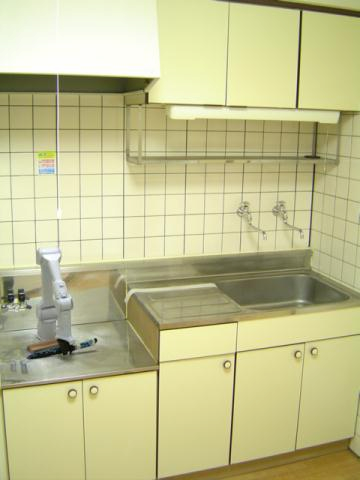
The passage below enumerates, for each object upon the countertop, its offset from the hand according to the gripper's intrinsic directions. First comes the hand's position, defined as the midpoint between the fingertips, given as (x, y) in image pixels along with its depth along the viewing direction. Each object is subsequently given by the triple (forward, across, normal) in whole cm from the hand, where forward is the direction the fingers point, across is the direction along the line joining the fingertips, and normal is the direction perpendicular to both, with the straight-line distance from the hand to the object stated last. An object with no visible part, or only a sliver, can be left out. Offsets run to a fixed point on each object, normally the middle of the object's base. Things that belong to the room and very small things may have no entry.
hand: (64, 354), depth 230 cm
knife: (+1, -2, 0) cm, 2 cm away
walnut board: (+1, -13, 0) cm, 13 cm away
